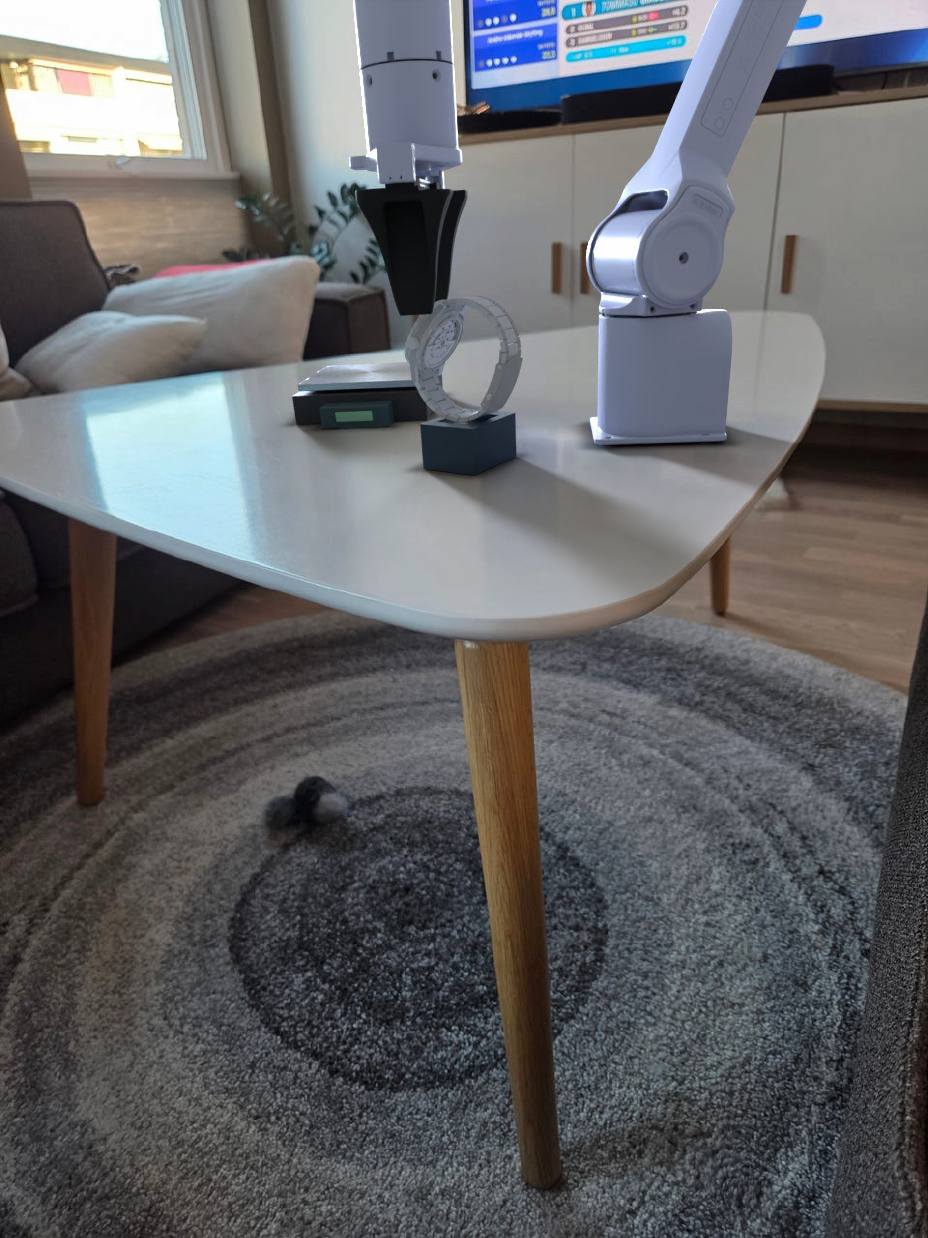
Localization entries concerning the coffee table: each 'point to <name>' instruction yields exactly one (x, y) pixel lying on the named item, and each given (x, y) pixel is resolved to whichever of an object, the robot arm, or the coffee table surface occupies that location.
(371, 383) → the scale pan
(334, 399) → the scale
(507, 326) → the watch
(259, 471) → the coffee table surface
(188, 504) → the coffee table surface
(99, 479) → the coffee table surface
